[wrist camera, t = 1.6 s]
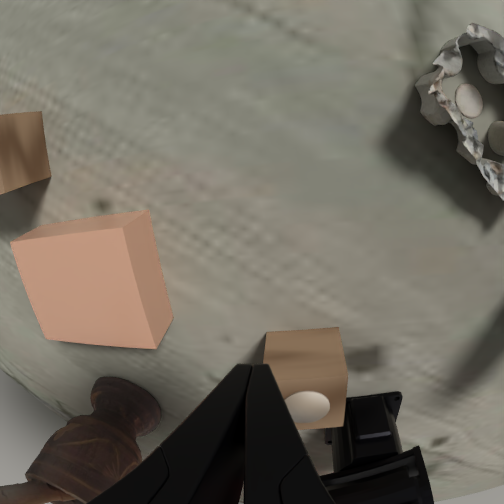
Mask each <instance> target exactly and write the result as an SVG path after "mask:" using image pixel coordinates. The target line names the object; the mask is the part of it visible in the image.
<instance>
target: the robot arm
mask: <svg viewBox="0 0 504 504" xmlns="http://www.w3.org/2000/svg"><path fill="white" fill-rule="evenodd" d="M401 401H402V394H401V392H391V393H384V394H377V395H369V396H361V397H352V398H346V404H345V414H344V423H343V426H341V427H331V428H326V429H325V444H327V445H332V453H333V469H334V473H330V474H326V475H321V476H319V475H318V473H317V471H316V469H315V467H314V465H313V463H312V461H311V459H310V456H309V455H308V452H307V450H306V448H305V446H304V443H303V441H302V439H301V437H300V434H299V432H298V430H297V428H296V425H295V423H294V421H293V419H292V416H291V414H290V412H289V410H288V407H287V405H286V403H285V400H284V398H283V396H282V393H281V391H280V389H279V387H278V384H277V382H276V380H275V377H274V375H273V373H272V370H271V368H270V366H269V364H267V363H264V364H254V365H252V364H237V365H235V366H234V368H233V369H232V370H231V371H230V372H229V373H228V374H227V375H226V376H225V377H224V379H223V380H222V381H221V382H220V383H219V384H218V385H217V386H216V387H215V388H214V389H213V390H212V392H211V393H210V394H209V395H208V396H207V397H206V398H205V399H204V400H203V401H202V402H201V403H200V404H199V405H198V406H197V407H196V408H195V410H194V411H193V412H192V413H191V414H190V415H189V416H188V417H187V418H186V419H185V420H184V421H183V422H182V423H181V424H180V425H179V426H178V427H177V428H176V429H175V430H174V431H173V432H172V433H171V434H170V435H169V436H168V437H167V438H166V439H165V440H164V441H163V442H162V443H161V444H160V447H159V446H158V447H157V448H156V449H155V450H154V451H153V452H152V453H151V454H150V455H149V456H148V457H147V458H146V459H144V460H143V461H142V462H141V463H140V464H139V465H138V466H137V467H136V468H134V469H133V470H132V471H131V472H129V473H128V474H127V475H125V476H124V477H123V478H122V479H120V480H119V481H118V482H116V483H115V484H113V485H112V486H111V487H109V488H108V489H106V490H105V491H104V492H102V493H101V494H99V495H98V496H96V497H95V498H93V499H92V500H90V501H89V502H87V503H86V504H238V503H239V499H240V495H241V490H242V486H243V482H244V504H434V501H433V495H432V491H431V486H430V482H429V478H428V475H427V471H426V468H425V464H424V461H423V457H422V454H421V450H420V447H419V446H416V447H413V449H411V450H408V451H405V452H403V451H402V446H401V442H400V438H399V434H398V430H397V426H396V419H397V416H398V412H399V409H400V405H401Z"/></svg>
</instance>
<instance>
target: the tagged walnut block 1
mask: <svg viewBox="0 0 504 504" xmlns="http://www.w3.org/2000/svg"><path fill="white" fill-rule="evenodd" d="M49 177H51V171H50V166H49V160H48V155H47V148H46V142H45V135H44V128H43V120H42V111H40V112H25V113H14V114H4V115H0V195H1V194H4V193H6V192H9V191H12V190H14V189H17V188H20V187H23V186H25V185H28V184H31V183H34V182H37V181H40V180H43V179H46V178H49Z"/></svg>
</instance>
